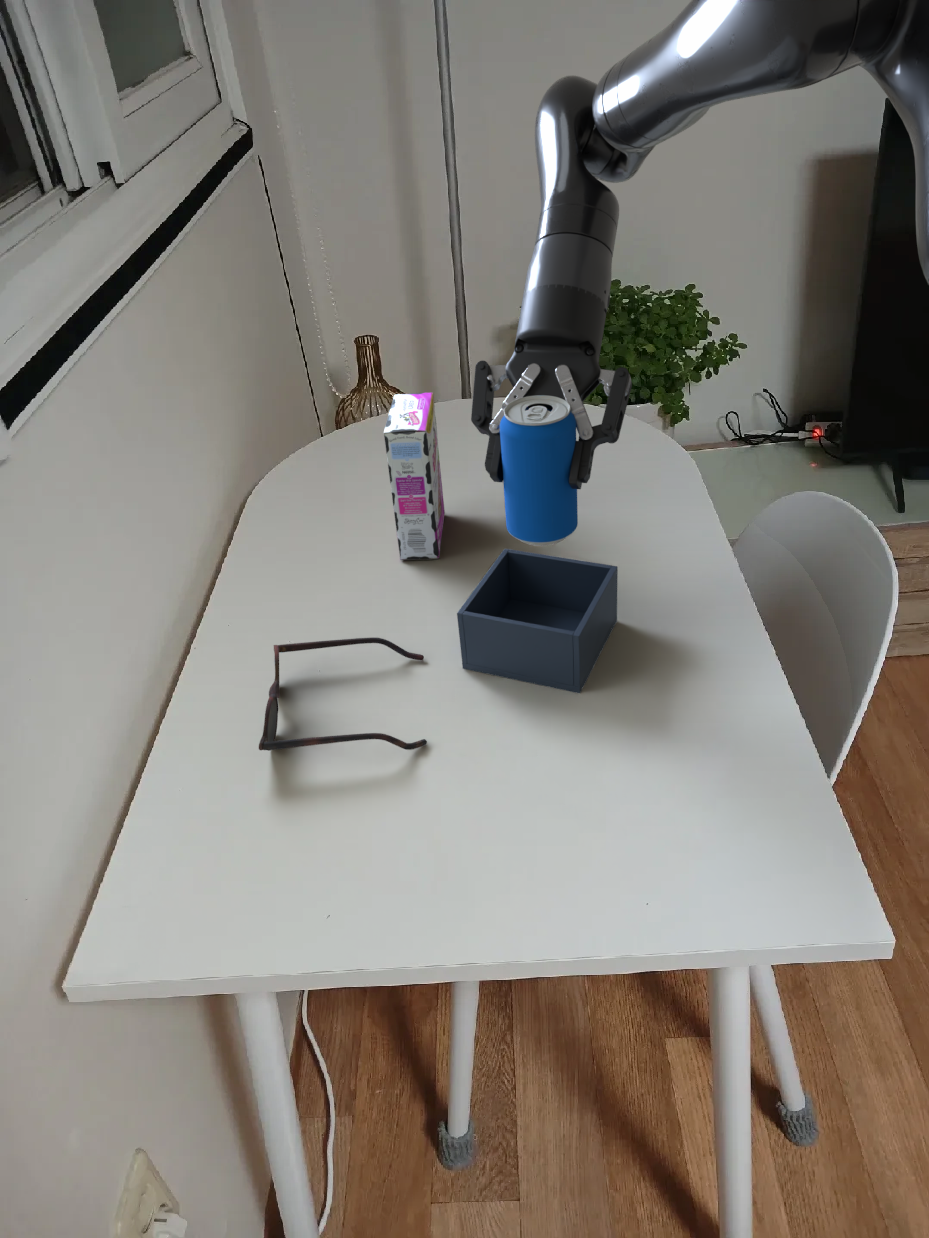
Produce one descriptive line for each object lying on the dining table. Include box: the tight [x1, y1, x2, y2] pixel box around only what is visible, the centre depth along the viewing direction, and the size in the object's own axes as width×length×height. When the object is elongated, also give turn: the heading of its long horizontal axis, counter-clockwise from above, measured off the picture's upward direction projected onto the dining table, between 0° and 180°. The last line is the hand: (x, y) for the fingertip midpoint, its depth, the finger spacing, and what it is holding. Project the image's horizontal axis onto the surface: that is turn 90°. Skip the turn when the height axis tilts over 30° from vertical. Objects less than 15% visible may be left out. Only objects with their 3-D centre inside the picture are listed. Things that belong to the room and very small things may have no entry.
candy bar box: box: [383, 392, 446, 561], centre depth 111 cm, size 11×5×16 cm, turn 178°
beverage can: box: [500, 395, 579, 547], centre depth 84 cm, size 6×6×12 cm
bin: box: [456, 548, 619, 694], centre depth 95 cm, size 12×12×7 cm
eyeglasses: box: [258, 637, 428, 752], centre depth 90 cm, size 15×15×5 cm
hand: (535, 482), depth 82 cm, fingers closed on beverage can, 6 cm apart
